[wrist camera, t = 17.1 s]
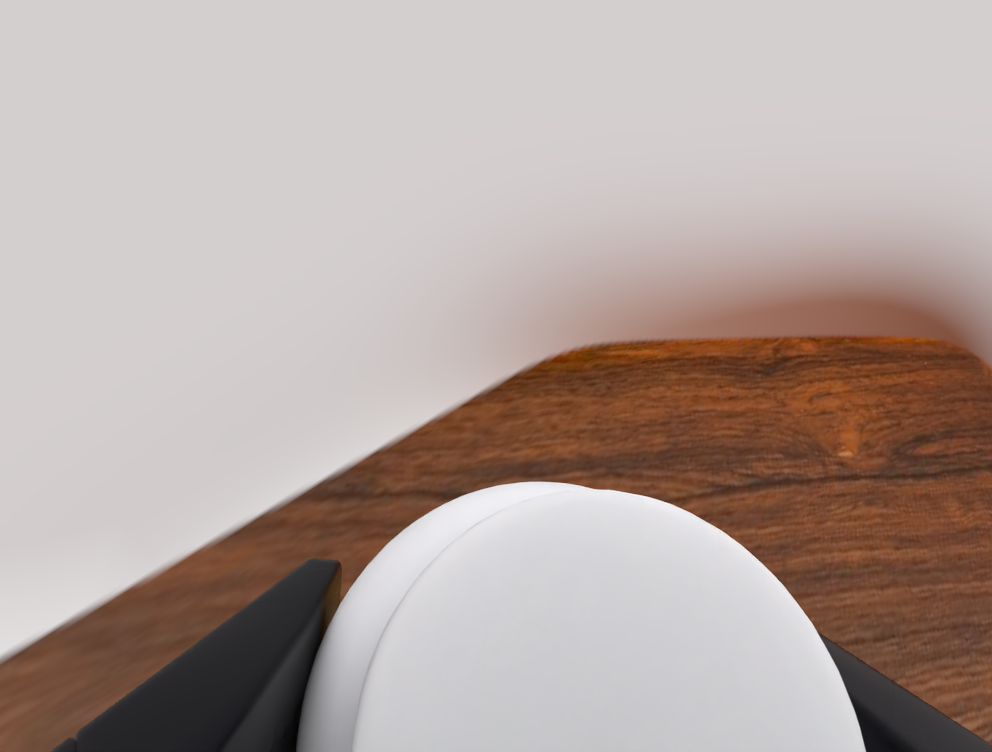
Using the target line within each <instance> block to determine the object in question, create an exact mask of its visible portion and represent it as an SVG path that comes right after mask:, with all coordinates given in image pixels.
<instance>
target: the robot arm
mask: <svg viewBox="0 0 992 752" xmlns="http://www.w3.org/2000/svg"><path fill="white" fill-rule="evenodd" d="M341 572H342V568H341V564H340V562H339V561H337V560H326V559H310V560H308V561H306V562H305V563H304V564H302V565H301V566H300V567H298V568H297V569H296V570H294V571H293V572H292V573H290V574H289V575H287V576H286V577H285V578H283V579H282V580H281V581H279V582H278V583H277V584H275V585H274V586H273V587H271V588H270V589H269V590H267V591H266V592H265V593H263V594H262V595H261V596H259V597H258V598H257V599H255V600H254V601H253V602H251V603H250V604H248V605H247V606H246V607H244V608H243V609H242V610H240V611H239V612H238V613H236V614H235V615H234V616H232V617H231V618H230V619H228V620H227V621H226V622H224V623H223V624H222V625H220V626H219V627H218V628H216V629H215V630H214V631H212V632H211V633H210V634H208V635H207V636H205V637H204V638H203V639H201V640H200V641H199V642H197V643H196V644H195V645H193V646H192V647H191V648H189V649H188V650H187V651H185V652H184V653H183V654H181V655H180V656H179V657H177V658H176V659H175V660H173V661H172V662H171V663H169V664H168V665H167V666H165V667H164V668H162V669H161V670H160V671H158V672H157V673H156V674H154V675H153V676H152V677H150V678H149V679H148V680H146V681H145V682H144V683H142V684H141V685H140V686H138V687H137V688H136V689H134V690H133V691H132V692H130V693H129V694H128V695H126V696H125V697H123V698H122V699H121V700H119V701H118V702H117V703H115V704H114V705H113V706H111V707H110V708H109V709H107V710H106V711H105V712H103V713H102V714H101V715H99V716H98V717H97V718H95V719H94V720H93V721H91V722H90V723H89V724H87V725H86V726H85V727H83V728H82V729H80V730H79V731H78V732H77V734H76V741H75V739H74V738H68V739H67V740H65V741H64V742H63V743H61V744H60V745H59V746H57V747H56V748H54V749H53V750H52V751H50V752H296V742H297V735H298V729H299V722H300V716H301V710H302V704H303V699H304V695H305V690H306V686H307V682H308V679H309V676H310V673H311V670H312V666H313V663H314V660H315V657H316V655H317V652H318V649H319V647H320V644H321V642H322V640H323V637H324V635H325V633H326V630H327V628H328V626H329V624H330V622H331V620H332V618H333V616H334V615H335V613H336V611H337V609H338V607H339V605H340V589H341ZM817 633H818V635H819V636H820V638H821V640H822V641H823V643H824V645H825V647H826V649H827V650H828V652H829V654H830V656H831V658H832V660H833V661H834V663H835V665H836V667H837V669H838V671H839V673H840V675H841V678H842V681H843V683H844V686H845V688H846V691H847V693H848V696H849V698H850V701H851V703H852V706H853V708H854V711H855V714H856V717H857V720H858V723H859V726H860V730H861V734H862V738H863V742H864V746H865V750H866V752H992V745H991V744H989V743H988V742H986V741H984V740H983V739H981V738H980V737H978V736H977V735H975V734H974V733H972V732H971V731H969V730H968V729H966V728H965V727H963V726H961V725H960V724H958V723H957V722H955V721H954V720H952V719H951V718H949V717H948V716H946V715H945V714H943V713H941V712H940V711H938V710H937V709H935V708H934V707H932V706H931V705H929V704H928V703H926V702H925V701H923V700H922V699H920V698H918V697H917V696H915V695H914V694H912V693H911V692H909V691H908V690H906V689H905V688H903V687H902V686H900V685H898V684H897V683H895V682H894V681H892V680H891V679H889V678H888V677H886V676H885V675H883V674H882V673H880V672H879V671H877V670H875V669H874V668H872V667H871V666H869V665H868V664H866V663H865V662H863V661H862V660H860V659H859V658H857V657H855V656H854V655H852V654H851V653H849V652H848V651H846V650H845V649H843V648H842V647H840V646H839V645H837V644H836V643H834V642H832V641H831V640H829V639H828V638H826V637H825V636H823V635H822V634H820V633H819V632H817Z"/></svg>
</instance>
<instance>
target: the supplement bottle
mask: <svg viewBox="0 0 992 752" xmlns="http://www.w3.org/2000/svg"><path fill="white" fill-rule="evenodd" d="M296 752H866V750H865V746H864V742H863V738H862V734H861V730H860V726H859V723H858V720H857V717H856V714H855V711H854V708H853V706H852V703H851V701H850V698H849V696H848V693H847V691H846V688H845V686H844V683H843V681H842V678H841V675H840V673H839V671H838V669H837V667H836V665H835V663H834V661H833V660H832V658H831V656H830V654H829V652H828V650H827V649H826V647H825V645H824V643H823V641H822V640H821V638H820V636H819V635H818V633H817V631H816V629H815V628H814V626H813V624H812V623H811V621H810V620H809V619H808V617H807V616H806V615H805V613H804V612H803V610H802V609H801V608H800V606H799V605H798V604H797V602H796V601H795V600H794V598H793V597H792V596H791V595H790V593H789V592H788V591H787V590H786V588H785V587H784V586H783V584H782V583H781V582H780V581H779V580H778V579H777V578H776V577H775V576H774V575H773V574H772V573H771V572H770V571H769V570H768V569H767V568H766V567H765V566H764V565H763V564H762V563H761V562H760V561H758V560H757V559H756V558H755V557H754V556H753V555H752V554H751V553H750V552H748V551H747V550H746V549H745V548H744V547H743V546H742V545H740V544H739V543H738V542H736V541H735V540H734V539H732V538H731V537H729V536H728V535H727V534H725V533H724V532H722V531H721V530H719V529H717V528H716V527H714V526H712V525H711V524H709V523H707V522H705V521H704V520H702V519H700V518H698V517H697V516H695V515H693V514H691V513H689V512H687V511H685V510H683V509H681V508H678V507H676V506H674V505H672V504H669V503H666V502H663V501H659V500H656V499H653V498H650V497H645V496H641V495H636V494H630V493H625V492H619V491H614V490H595V489H591V488H587V487H583V486H578V485H572V484H566V483H554V482H522V483H513V484H505V485H498V486H494V487H490V488H486V489H482V490H479V491H476V492H473V493H469V494H466V495H463V496H461V497H459V498H457V499H454V500H452V501H450V502H448V503H446V504H444V505H442V506H440V507H438V508H436V509H434V510H433V511H431V512H429V513H428V514H426V515H425V516H423V517H421V518H420V519H418V520H417V521H415V522H414V523H412V524H411V525H410V526H408V527H407V528H406V529H404V530H403V531H402V532H401V533H399V534H398V535H397V536H396V537H395V538H394V539H392V540H391V541H390V542H389V543H388V544H387V545H386V546H385V547H384V548H383V549H382V550H381V551H380V552H379V554H378V555H377V556H376V557H375V558H374V559H373V560H372V561H371V562H370V563H369V564H368V565H367V567H366V568H365V569H364V571H363V572H362V573H361V575H360V576H359V577H358V579H357V580H356V581H355V583H354V584H353V585H352V586H351V588H350V589H349V591H348V593H347V594H346V596H345V597H344V599H343V601H342V602H341V604H340V605H339V607H338V609H337V611H336V613H335V615H334V616H333V618H332V620H331V622H330V624H329V626H328V628H327V630H326V633H325V635H324V637H323V640H322V642H321V644H320V647H319V649H318V652H317V655H316V657H315V660H314V663H313V666H312V670H311V673H310V676H309V679H308V682H307V686H306V690H305V695H304V699H303V704H302V710H301V716H300V722H299V729H298V735H297V742H296Z"/></svg>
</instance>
